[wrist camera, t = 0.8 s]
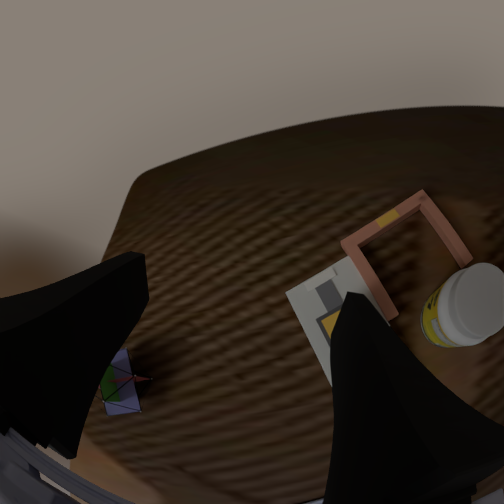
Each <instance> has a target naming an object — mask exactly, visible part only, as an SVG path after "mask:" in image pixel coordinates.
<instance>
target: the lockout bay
mask: <svg viewBox="0 0 504 504" xmlns="http://www.w3.org/2000/svg"><path fill="white" fill-rule="evenodd" d="M418 210H420V211H421V212H422V213H423V215H424V216H425V217H426V219H427V220H428V221H429V223H430V224H431V225H432V227H433V228H434V229H435V231H436V232H437V234H438V235H439V236H440V238H441V239H442V241H443V242H444V244H445V245H446V246H447V248H448V249H449V251H450V252H451V254H452V256H453V257H454V259H455V260H456V262H457V263H458V265H459V266H460V268H461V269H462V268H463V267H465V266H466V265H467V264H468V263H469V262H470V261H471V260H472V259H473V257H472V255H471V254H470V252H469V251H468V249H467V248H466V246H465V245H464V243H463V242H462V240H461V239H460V237H459V236H458V235H457V233H456V232H455V230H454V229H453V228H452V226H451V225H450V223H449V222H448V221H447V219H446V218H445V217H444V215H443V214H442V213H441V211H440V210H439V209H438V208H437V206H436V205H435V204H434V203H433V201H432V200H431V199H430V198H429V196H428V195H427V194H426V193H425V192H424V190H423V189H422V190H420V191H419V192H417V193H416V194H414V195H413V196H411V197H410V198H408V199H407V200H405V201H404V202H402V203H401V204H399V205H398V206H396V207H394V208H393V209H391V210H390V211H388V212H387V213H385V214H383V215H382V216H380V217H379V218H377V219H376V220H374V221H372V222H371V223H369V224H368V225H366V226H364V227H363V228H361V229H360V230H358V231H356V232H355V233H353V234H352V235H350V236H348V237H347V238H345V239H343V240H342V241H340V242H341V246H342V248H343V249H344V251H345V253H346V254H347V256H348V255H349V257H350V258H351V260H352V262H353V263H354V265H355V266H356V268H357V270H358V271H359V273H360V275H361V276H362V278H363V280H364V281H365V283H366V285H367V286H368V288H369V290H370V291H371V293H372V295H373V297H374V298H375V300H376V302H377V303H378V305H379V307H380V309H381V311H382V312H383V314H384V316H385V318H386V320H387V321H388V322H389V321H390V320H392V319H393V318H395V317H396V316H398V315H399V313H398V311H397V309H396V308H395V306H394V304H393V302H392V301H391V299H390V297H389V295H388V294H387V292H386V290H385V289H384V287H383V285H382V284H381V282H380V280H379V279H378V277H377V275H376V274H375V272H374V271H373V269H372V267H371V266H370V264H369V263H368V261H367V259H366V258H365V256H364V255H363V253H362V252H361V250H360V248H361V247H363V246H365V245H366V244H368V243H369V242H371V241H373V240H374V239H376V238H377V237H379V236H380V235H382V234H383V233H385V232H387V231H388V230H390V229H391V228H393V227H394V226H396V225H397V224H399V223H400V222H402V221H403V220H405V219H406V218H408V217H409V216H411V215H412V214H414V213H415V212H417V211H418Z"/></svg>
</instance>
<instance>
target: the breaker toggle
mask: <svg viewBox="0 0 504 504" xmlns="http://www.w3.org/2000/svg"><path fill="white" fill-rule="evenodd" d="M342 305H343V304H341V305H339V306H338V307H336V308H334V309H333V310H331V311H329V312H327V313H326V314H324V315H322V316H320V317H318V318H317V319H316V321H317V323H318V325H319V327H320V329H321V331H322V333H323V335H324V337H325V339H326V341H327V343H328V345H329V347H330V341H331V333H332V330H333V328H334V325H335V323H336V320H337V318H338V315H339V312H340V310H341V307H342Z"/></svg>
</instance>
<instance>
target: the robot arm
mask: <svg viewBox="0 0 504 504" xmlns="http://www.w3.org/2000/svg"><path fill="white" fill-rule="evenodd" d="M148 301H149V292H148V284H147V275H146V265H145V254H141V253H136V252H132V251H130V252H127V253H124V254H121V255H118V256H116V257H114V258H111V259H109V260H107V261H104V262H102V263H100V264H98V265H95V266H93V267H91V268H89V269H86V270H84V271H82V272H80V273H77V274H75V275H72V276H70V277H68V278H65V279H63V280H60V281H58V282H55V283H53V284H50V285H47V286H44V287H41V288H38V289H35V290H32V291H29V292H25V293H21V294H17V295H13V296H9V297H4V298H0V504H81V503H79V502H78V501H76V500H75V499H73V498H72V497H70V496H68V495H67V494H65V493H63V492H62V491H60V490H59V489H57V488H55V487H53V486H52V485H50V484H48V483H47V482H45V481H44V480H42V479H41V478H40V473H39V471H40V472H41V473H42V474H44V475H45V476H47V477H48V478H49V479H51V480H52V481H54V482H55V483H57V484H58V485H60V486H61V487H63V488H64V489H66V490H67V491H69V492H71V493H72V494H74V495H76V496H77V497H79V498H81V499H82V500H84V501H86V502H88V503H89V504H135V503H133V502H130V501H128V500H126V499H123V498H121V497H119V496H117V495H115V494H112V493H110V492H108V491H106V490H104V489H102V488H100V487H98V486H96V485H95V484H93V483H91V482H89V481H87V480H85V479H84V478H82V477H80V476H78V475H77V474H75V473H73V472H72V471H70V470H68V469H67V468H65V467H63V466H62V465H61V464H59V463H58V462H56V461H54V460H53V459H52V458H50V457H49V456H47V455H46V454H44V453H43V452H42V451H40V450H39V449H38V448H36V447H35V446H36V444H37V443H38V444H39V445H41V446H42V447H44V448H45V449H46V448H47V447H50V448H51V449H52V450H54V451H55V452H57V453H58V454H60V455H61V456H63V457H65V458H66V459H74V458H76V456H77V450H78V446H79V442H80V438H81V434H82V430H83V427H84V424H85V421H86V418H87V415H88V412H89V409H90V406H91V404H92V401H93V399H94V396H95V394H96V391H97V389H98V387H99V385H100V383H101V380H102V378H103V376H104V374H105V372H106V370H107V368H108V367H109V365H110V363H111V362H112V360H113V359H114V357H115V355H116V354H117V352H118V351H119V349H120V348H121V346H122V345H123V343H124V342H125V340H126V339H127V337H128V336H129V334H130V333H131V331H132V330H133V328H134V327H135V325H136V324H137V322H138V321H139V319H140V317H141V315H142V313H143V311H144V309H145V307H146V305H147V303H148ZM330 368H331V380H332V393H333V407H334V430H333V443H332V452H331V460H330V468H329V474H328V480H327V485H326V490H325V495H324V498H322V499H318V500H315V501H311V502H307V503H303V504H504V494H503V489H501V488H500V489H498V490H496V491H494V492H492V493H490V494H488V495H486V496H484V497H482V498H480V499H478V500H476V501H474V502H471V496H472V495H474V494H476V492H477V488H476V483H478V482H480V481H481V480H483V479H485V478H486V477H488V476H490V475H491V474H493V473H494V472H496V471H497V470H499V469H500V468H502V467H503V466H504V427H503V426H501V425H500V424H498V423H496V422H494V421H493V420H491V419H489V418H487V417H486V416H484V415H482V414H481V413H480V412H478V411H477V410H475V409H474V408H472V407H471V406H469V405H468V404H467V403H465V402H464V401H463V400H461V399H460V398H459V397H458V396H456V395H455V394H454V393H453V392H452V391H451V390H449V389H448V388H447V387H446V386H445V385H443V384H442V383H441V382H440V381H439V380H438V379H437V378H436V377H435V376H434V375H433V374H432V373H431V372H430V371H429V370H428V369H427V368H426V367H425V366H424V365H423V364H422V363H421V362H420V361H419V360H418V359H417V358H416V357H415V356H414V355H413V353H412V352H411V351H410V350H409V349H408V348H407V347H406V345H405V344H404V343H403V342H402V341H401V339H400V338H399V337H398V336H397V335H396V333H395V332H394V331H393V330H392V328H391V327H390V326H389V325H388V323H387V322H386V321H385V319H384V318H383V317H382V316H381V314H380V313H379V312H378V310H377V309H376V308H375V307H374V305H373V304H372V303H371V302H370V300H369V299H368V298H367V297H366V296H365V295H364V294H361V293H355V292H348V291H347V294H346V296H345V299H344V302H343V305H342V307H341V310H340V312H339V315H338V318H337V320H336V323H335V325H334V328H333V330H332V333H331V341H330Z"/></svg>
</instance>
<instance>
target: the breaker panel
mask: <svg viewBox="0 0 504 504" xmlns="http://www.w3.org/2000/svg"><path fill="white" fill-rule="evenodd" d="M347 291H348V292H355V293H361V294H364V295H365V296H366V297H367V298H368V299H369V300H370V302H371V303H372V304H373V305H374V307H375V308H376V309H377V310H378V312H379V313H380V314H381V316H382V317H383V318H384V319H385V321H386V322H387V323H388V321H387V320H386V318H385V316H384V314H383V312H382V311H381V309H380V307H379V305H378V303H377V302H376V300H375V298H374V297H373V295H372V293H371V291H370V290H369V288H368V286H367V285H366V283H365V281H364V280H363V278H362V276H361V275H360V273H359V271H358V270H357V268H356V266H355V265H354V263H353V262H352V260H351V258H350V257H349V255H348V256H347V257H345V258H343V259H342V260H340V261H338V262H337V263H335V264H333V265H332V266H330V267H328V268H327V269H325V270H323V271H322V272H320V273H318V274H317V275H315V276H313V277H312V278H310V279H308V280H306V281H305V282H303V283H301V284H299V285H298V286H296V287H294V288H292V289H291V290H289V291H287V292H285V293H286V295H287V297H288V299H289V301H290V303H291V305H292V307H293V309H294V311H295V313H296V315H297V317H298V319H299V321H300V323H301V325H302V327H303V329H304V331H305V333H306V335H307V337H308V339H309V341H310V343H311V345H312V347H313V349H314V351H315V353H316V355H317V357H318V359H319V361H320V364H321V366H322V368H323V370H324V372H325V374H326V376H327V378H328V380H329V382H330V384H331V386H332V380H331V368H330V347H329V345H328V343H327V341H326V339H325V337H324V335H323V333H322V331H321V329H320V327H319V325H318V323H317V321H316V319H317V318H318V317H320V316H322V315H324V314H326V313H327V312H329V311H331V310H333V309H334V308H336V307H338V306H339V305H341V304H343V302H344V299H345V296H346V294H347ZM388 325H389V323H388ZM389 326H390V325H389Z"/></svg>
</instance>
